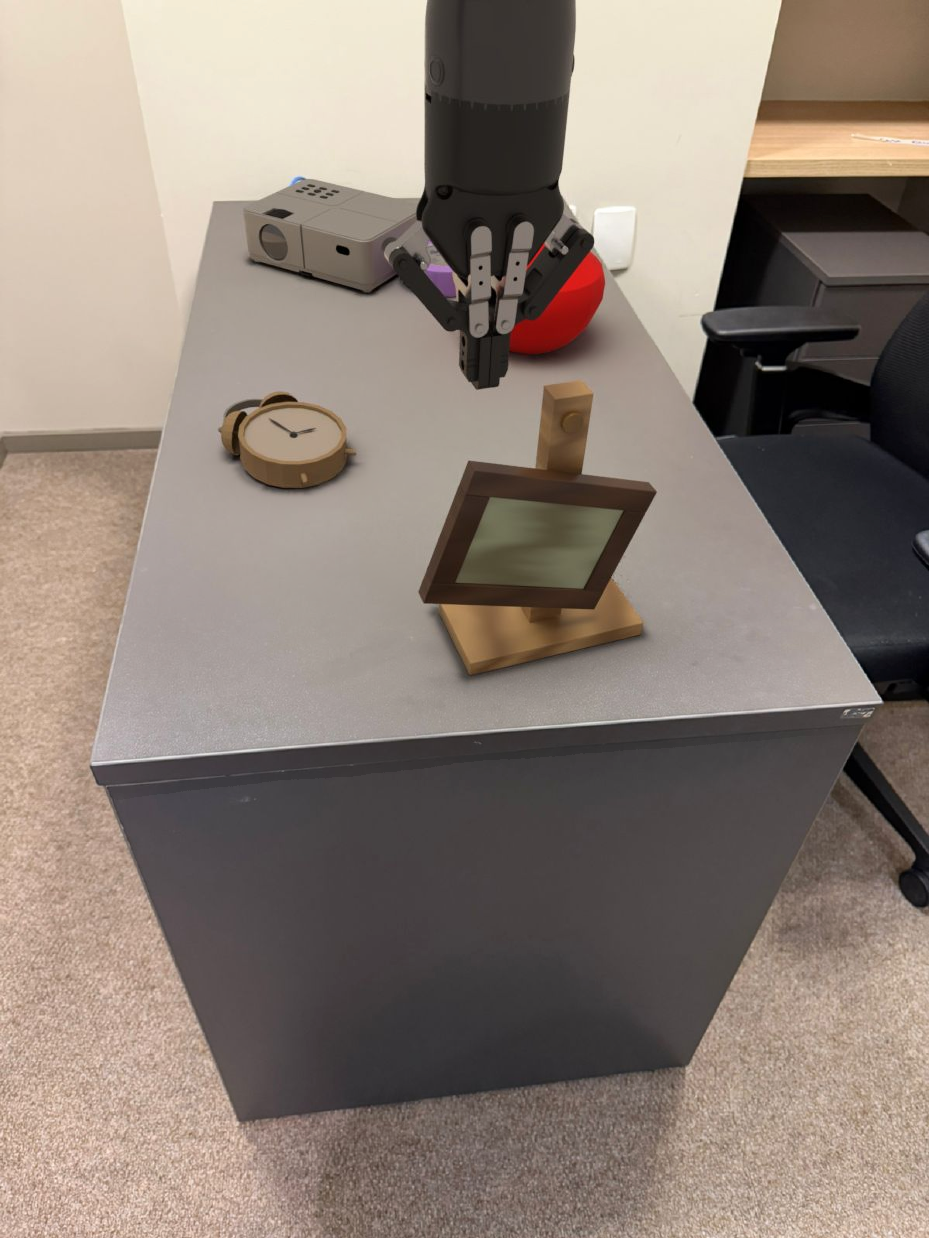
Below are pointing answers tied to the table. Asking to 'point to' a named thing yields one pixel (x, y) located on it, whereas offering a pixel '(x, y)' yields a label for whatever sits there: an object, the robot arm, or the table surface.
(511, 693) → the table surface
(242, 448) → the alarm clock
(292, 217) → the projector
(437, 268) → the tape roll
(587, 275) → the vase
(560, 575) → the frame
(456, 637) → the stand
